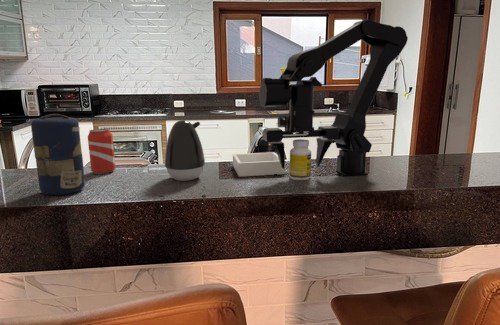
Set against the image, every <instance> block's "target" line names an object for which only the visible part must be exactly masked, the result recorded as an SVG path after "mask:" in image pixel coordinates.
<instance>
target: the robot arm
mask: <svg viewBox="0 0 500 325" xmlns="http://www.w3.org/2000/svg"><path fill="white" fill-rule="evenodd" d="M408 39H409V38H408V35H407V31H405V29H404V28H403V26H393V25H390V24H384V23H380V22H376V21H374V20H371V19H369V18H366V19H362V20H358V21H355V22H354V23H353V24H352V25H350V26H349V27H347V28H346V29H344V30H342V31H340V32H339V33H337V34H335V35H334V36H333V37H331V38H329V39H327V40H326V41H324V42H322V43H320V44H319V45H318V46H315V47H311V48H309V49H306V50H303V51H299V52H297V53H294V54H292V55H291V56H289V58H288V60H287V64H286V68H285V69H284V70H283V71H282V73H281V75H280V77H279V78H272V77H263V78H261V84H260V86H259V91H258V100H259V105H260V107H262V108H269V107H270V108H272V107H273V108H274V107H276V108H277V107H286V106H287V104H288V103H289V109H288V114H287V115H286V114H284V113H283V114H278V115H277V127H265V128H264V129H263V130H262V140H263V141H265V142H266V143H268V144H270V145H271V146H273V148H274V150H275V151H276V152H275V153H276V154H277V155H278V158H279V161H280V164H281V167H282V168H283V169H284V166H285V167H286V158H285V143H284V142H283V141H282V140H283V139H292V138H293V139H294V138H295V139H296V138H300V139H301V138H316V145H317V146H316V158H315V166H316V167H317V168H319V167H320V165H321V164H322V161H323V159H324V157H325V155H326V153H327V151H329V148H330V147H331V145H332V144H334V143H335V147H336V148H337V149H339V150H338V155H337V157H336V168H335V171H336V172H337V173H340V174H341V175H343V176H346V177H347V176H349V177H350V176H362V175H363V176H364V175H365V176H366V175H368V174H369V172H368V171H366V161H367V160H366V159H367V153H370V152H371V149H372V146H373V145H372V142H370V141H369V139H367V137H366V136H365V132H366V129H367V123H366V122H367V121H366V120H367V119H366V116H367V114H368V112H369V109H370V108H371V105H372V102H373V101H374V98H375V96H376V94H377V92H378V89H379V87H380V85H381V82H382V81H383V79H384V76H385V74H386V72H387V70H388V68H389V65H390V64H391V63H393V61H394V60H395V59H396V58H397V57H399V56H400V54H401V52H402V51H403V50H404V48H405V47H406V45H407V43H408ZM359 41H362V42H364V44H366V45H368V46H370V47H369V61H368V64H367V65H366V68H365V70H364V73H363V75H362V77H361V79H360V81H359V83H358V85H357V88H356V91H355V93H354V95H353V97H352V99H351V102H350V104H349V106H348V108H347V110H345V112H344V113H338V112H337V114H336V115H335V116H334V121H333V123H331V125H325V126H322V125H321V126H320V125H319V126H318V128H317V129H315V126H314V125H313V124H314V115H315V110H314V87H316V88H317V87H318V88H319V87H320V88H321V87H322V86H323V83H322V82H320V81H319V80H318V79H317V77H316V76H314V75H316V74H317V72H319V71H320V70H321V69H322V68H323V67H324V65H325V64H326V63H327V62H328V61H329V60H330V59H332V58H333V57H335V56H336V55H338V54H340V53H342V52H344V51H345V50H346V49H348V48H350V47H351V46H353V45H355V44H357V43H358V42H359ZM304 78H309V79H304ZM292 82H296V84H290V83H292ZM313 126H314V127H313ZM280 128H281V129H280ZM282 128H284V130H283V129H282Z"/></svg>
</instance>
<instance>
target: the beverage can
mask: <svg viewBox="0 0 500 325" xmlns="http://www.w3.org/2000/svg"><path fill="white" fill-rule="evenodd" d="M87 143H88V144H87V145H88V152H89V162H90V170H91V172H93V173H94V174H96V175H105V174H104V173H107V174H110V173H109V172H111V173H112V172H113V171H114V170H116V161H115V160H116V158H115V149H114V139H113V133H112V132H111V131H110V129H109V128H96V129H89V133H88V135H87Z"/></svg>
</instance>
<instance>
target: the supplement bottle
mask: <svg viewBox="0 0 500 325" xmlns="http://www.w3.org/2000/svg"><path fill="white" fill-rule="evenodd" d="M292 146H293V147H292V148H291V149H290V150H289V178H290V179H291V180H295V181H308V180H310V179H311V176H312V175H311V174H312V173H311V171H312V151H311V148H309V146H310V140H308V139H302V138H300V139H294V140H292ZM309 178H310V179H309Z"/></svg>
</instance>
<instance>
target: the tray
mask: <svg viewBox="0 0 500 325" xmlns="http://www.w3.org/2000/svg"><path fill="white" fill-rule="evenodd" d="M232 167H233V168H234V170H235V172H236V174H237V176H238V177H255V176H270V175H271V176H272V175H273V176H274V174H277V175H286V165H285V166H284V169H283V168H282V167H281V164H280V161H279V158H278V155H277V152H274V151H273V152H272V151H271V152H254V153H253V152H251V153H249V152H248V153H233V154H232Z"/></svg>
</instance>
